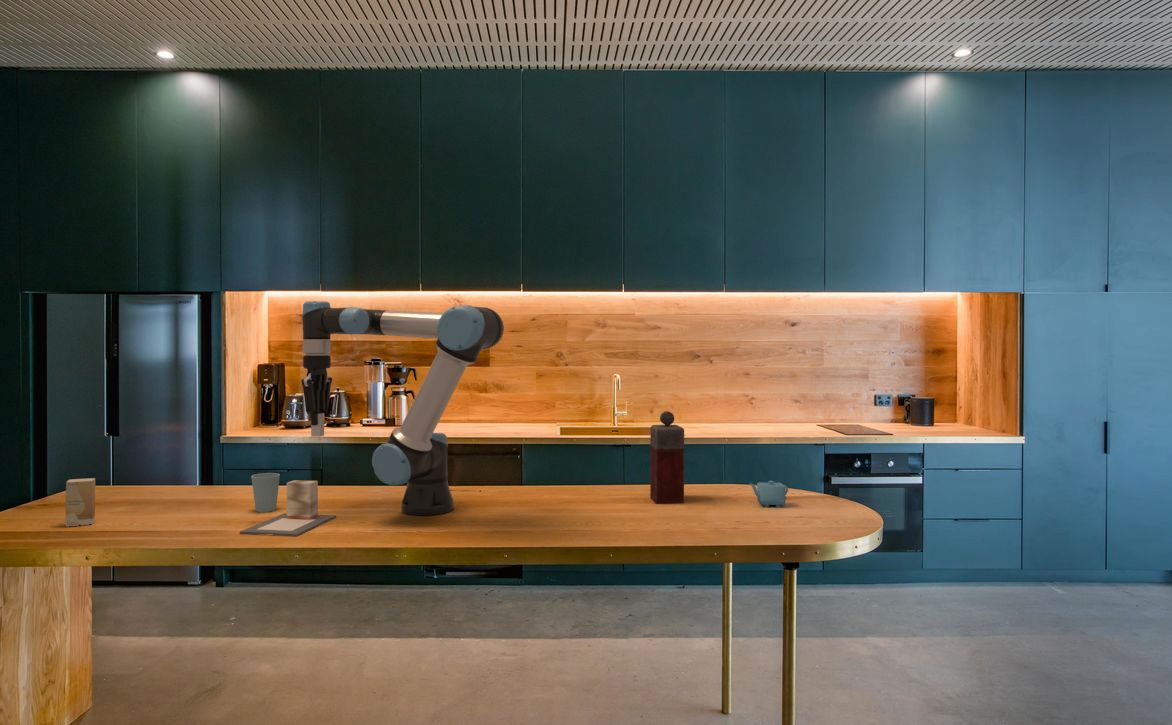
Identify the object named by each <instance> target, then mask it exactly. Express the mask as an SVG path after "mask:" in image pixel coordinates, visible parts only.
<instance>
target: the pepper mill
mask: <svg viewBox="0 0 1172 725" xmlns="http://www.w3.org/2000/svg"><path fill="white" fill-rule="evenodd" d="M659 420H660V422H661V423H662V424H652V425H650V434H649V435H650V441H649V442H650V444H649V445H650V446H649V447H650V448H649V449H650V451H649V452H650V462H649V463H650V466H649V467H650V470H649V471H650V473H649V474H650V475H649V476H650V481H649V482H650V489H649V492H650V494H649V495H650V500H651V501H652V502H653V503H654V504H656V505H669V504H671V505H672V504H675V505H676V504H685V429H684V427H682V426H680V425H678V424H673V423H674V421H675V415H674V414H673V412H672V411H669V410H664V411H663V412H661V413H660V416H659Z"/></svg>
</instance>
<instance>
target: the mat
mask: <svg viewBox="0 0 1172 725" xmlns="http://www.w3.org/2000/svg"><path fill="white" fill-rule="evenodd" d="M334 519H337V515H333V514H329V515H328V514H318V517H316V518H313V519H311V520H304V519H287V512H285V513H282V514H279V515H277V516H275V517H272V518H269V519H267V520H265V521H262V522H260V523H259V522H258V524H254V525H253V526H249V527H248V528H245V529H242V530H240V531H239V534H240V535H256V534H273V535H272V536H278V535H284V536H285V537H299V536H301V535H304V533H307V532H309V531H311V530H313V529H316V528H318V527H319V525H320V526H322V525H323V524H327V523H328V522H331V521H332V520H334ZM321 524H322V525H321ZM317 526H318V527H317ZM315 527H316V528H315ZM284 536H283V537H284Z"/></svg>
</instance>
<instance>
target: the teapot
mask: <svg viewBox="0 0 1172 725" xmlns="http://www.w3.org/2000/svg"><path fill="white" fill-rule="evenodd" d="M748 485H750V486H751V487H752V489H753V492H754V495H755V496H756V497H757V502H758V503H759V504H760V505H762V506H763V508H770V506H775V507H776V508H781V507H782V506H786V501H787V496H786V495H788V492H789V488H788V486H787V485H785V484H782V483H781V482H775V481H774V480H768V482H757V487H756V485H755V484H754V483H748Z"/></svg>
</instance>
